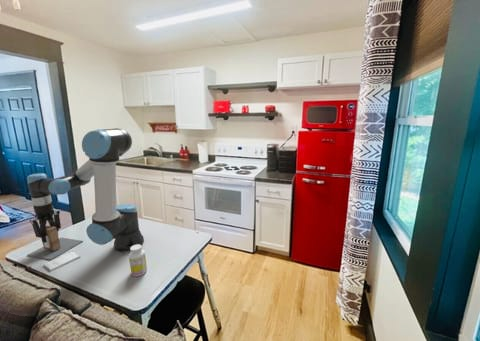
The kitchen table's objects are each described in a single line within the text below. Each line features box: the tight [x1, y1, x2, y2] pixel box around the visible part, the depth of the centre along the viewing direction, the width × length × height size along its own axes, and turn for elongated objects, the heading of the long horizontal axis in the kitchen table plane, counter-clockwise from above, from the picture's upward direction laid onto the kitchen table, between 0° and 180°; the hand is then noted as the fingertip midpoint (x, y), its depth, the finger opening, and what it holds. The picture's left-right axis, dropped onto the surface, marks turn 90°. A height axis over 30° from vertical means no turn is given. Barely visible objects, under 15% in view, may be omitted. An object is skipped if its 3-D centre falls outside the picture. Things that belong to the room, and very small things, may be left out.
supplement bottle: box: [128, 244, 148, 277], centre depth 105 cm, size 7×7×13 cm
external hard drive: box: [43, 251, 81, 272], centre depth 114 cm, size 2×8×12 cm
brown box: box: [42, 225, 61, 251], centre depth 122 cm, size 7×4×12 cm, turn 75°
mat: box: [26, 237, 84, 261], centre depth 126 cm, size 16×18×1 cm
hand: (51, 244), depth 123 cm, fingers closed on brown box, 4 cm apart
